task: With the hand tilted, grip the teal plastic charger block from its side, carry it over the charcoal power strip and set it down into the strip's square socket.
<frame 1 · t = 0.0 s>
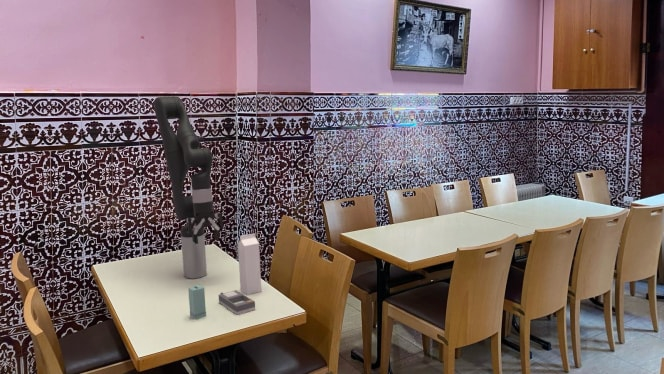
hand: (206, 241, 216), 17 cm above the table, tool pointing down, fingers open, 8 cm apart
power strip: (236, 306, 196), on the table
charger: (198, 315, 188), on the table
milk: (250, 291, 210), on the table
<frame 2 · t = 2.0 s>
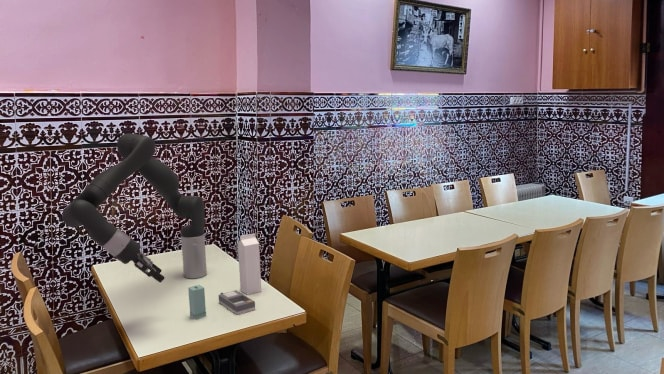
hand: (161, 276, 181), 16 cm above the table, tool tilted 45°, fingers open, 8 cm apart
nothing on the table moved.
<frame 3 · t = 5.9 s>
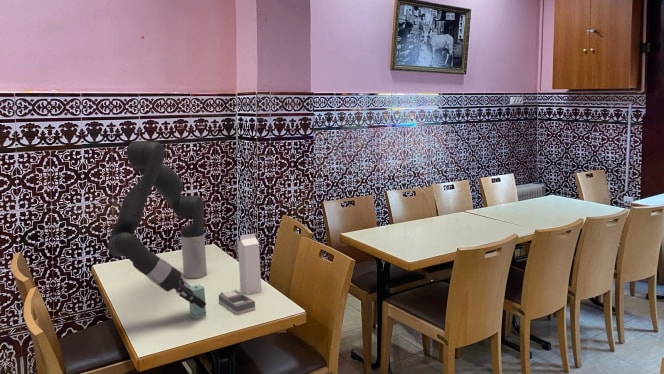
hand: (202, 303, 188), 4 cm above the table, tool tilted 45°, fingers closed on charger, 5 cm apart
charger: (198, 315, 188), on the table, touching gripper
everything else where it was.
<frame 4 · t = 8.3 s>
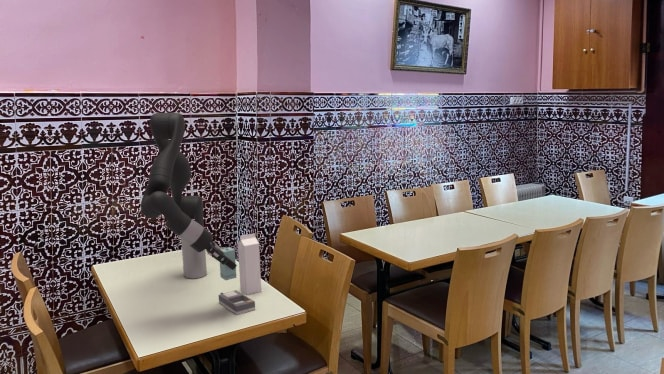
hand: (233, 265, 191), 16 cm above the table, tool tilted 45°, fingers closed on charger, 5 cm apart
charger: (228, 277, 191), point 12 cm above the table, touching gripper
everything else where it was.
when the fingers open (8 cm above the table, at t = 11.0 s): charger drops 2 cm, resting on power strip.
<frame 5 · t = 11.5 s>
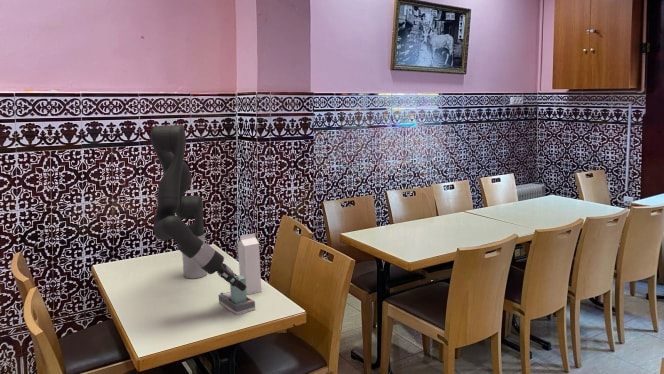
hand: (241, 284, 193), 8 cm above the table, tool tilted 45°, fingers open, 8 cm apart
charger: (239, 305, 194), point 1 cm above the table, touching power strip
everything else where it was.
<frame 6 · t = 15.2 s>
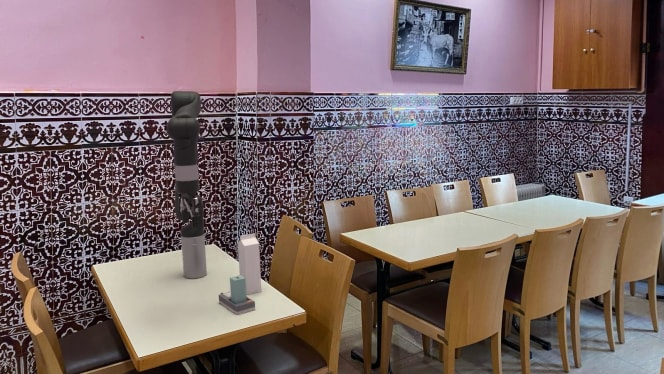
hand: (190, 225, 189), 30 cm above the table, tool pointing down, fingers open, 8 cm apart
nothing on the table moved.
at the end: charger 0.1 cm from the target spot on the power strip, point 1.0 cm above the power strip's base; charger tilted 0°; the gripper is holding nothing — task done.
